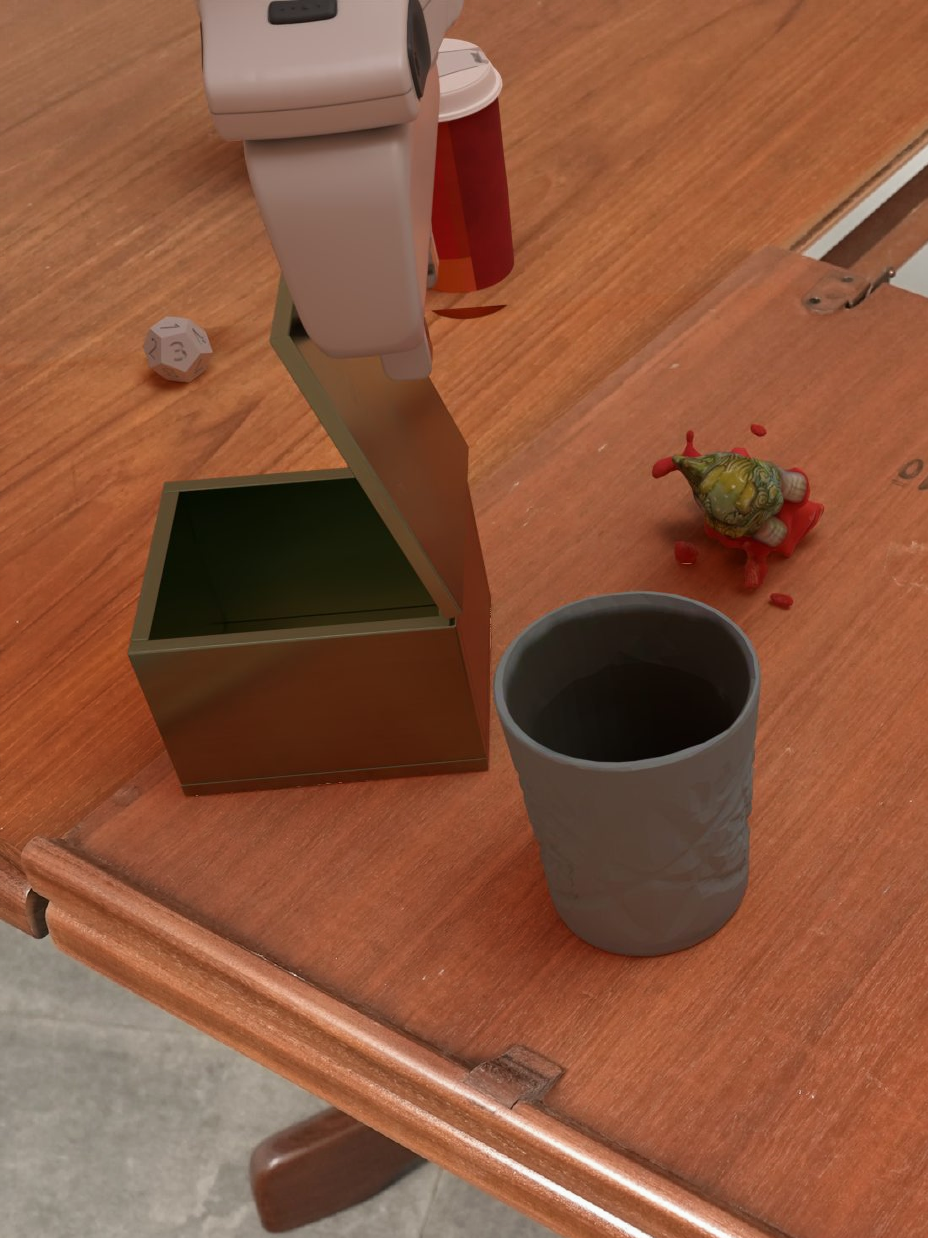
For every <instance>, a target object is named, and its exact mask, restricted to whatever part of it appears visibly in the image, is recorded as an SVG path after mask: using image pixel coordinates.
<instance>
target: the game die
mask: <svg viewBox="0 0 928 1238" xmlns="http://www.w3.org/2000/svg"><path fill="white" fill-rule="evenodd" d="M142 348H143V351H144V354H145V357H146V360H147V363H148V367H149V368H150V369H151V370H152V371H153V372H155V373H156V374H158V375H159V376H161V377H162V378H163V379H165V380H166V381H172V382H179V383H188V384H189V383H191V382H192V381H194V380H195V379H196V378H197V377H199V376H200V375H202V374H203V373H204V372H206V371H207V368H208V365H209V363H210V361H211V358H212V355H213V352H214V351H213V348H212V346H211V343H210V340H209V338H208V335H207V332H206V330H205V329H203V328H201V326H199V325H198V324H197V323H195V322H194V321H193V320H192V319H190V318H187V317H185V318H184V317H179V316H169V315H166V316H164V317H163V318H162V319H161V320H159V321H158V322H156V323H155V324H153V325H152V326H151V327H149V329H148V332H147V334H146V337H145V340H144V342H143V345H142Z"/></svg>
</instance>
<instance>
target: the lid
mask: <svg viewBox="0 0 928 1238" xmlns="http://www.w3.org/2000/svg"><path fill="white" fill-rule="evenodd" d="M272 316H273V318H272V321H271V322H272V323H271V329H270V333H269V334H270V335H269V340H268V341H269V342H268V343H269V345H270V346H271V347H272V349H273V351H274V352H275V353H276V355H277V356H278V358H279V360H280V361H281V364H282V365H283V366H284V368H285V369H286V370H287V372H288V374H289V375H290V377H291V378H292V380H293V381H294V383H295V385H296V386H297V388H298V389H299V391H300V393H301V394H302V396H303V397H304V399H305V401H306V402H307V404H308V405H309V407H310V409H311V410H312V412H313V413H314V414H315V416H316V418H317V419H318V421H319V423H320V424H321V425H322V427H323V429H324V431H325V433H326V434H327V435H328V437H329V438H330V440H331V441H332V443H333V445H334V446H335V448H336V450H337V451H338V453H339V454H340V456H341V457H342V458H343V460H344V462H345V463H346V465H347V467H349V468H350V470H351V471H352V473H353V474H354V476H355V478H356V479H357V481H358V482H359V484H360V485H361V487H362V489H363V490H364V492H365V493H366V495H367V496H368V498H369V500H370V501H371V503H372V504H373V506H374V507H375V509H376V511H377V512H378V514H379V515H380V517H381V518H382V520H383V522H384V523H385V525H386V526H387V528H388V529H389V531H390V533H391V534H392V536H393V537H394V539H395V540H396V542H397V544H398V545H399V547H400V548H401V550H402V551H403V553H404V555H405V556H406V558H407V559H408V561H409V562H410V564H411V566H412V567H413V569H414V570H415V572H416V573H417V575H418V577H419V578H420V580H421V581H422V583H423V584H424V586H425V588H426V589H427V591H428V592H429V594H430V595H431V597H432V599H433V600H434V602H435V603H436V605H437V606H438V608H439V610H440V611H441V613H442V614H443V616H444V617H445V619H450V618H453V617H457V616H460V615H462V614H463V591H464V564H465V538H466V511H467V484H468V485H469V481H468V480H469V479H468V477H469V453H470V447H469V444H468V443H467V441H466V439H465V437H464V435H463V434H462V432H461V431H460V429H459V426H458V425H457V423H456V422H455V419H454V418H453V416H452V414H451V413H450V411H449V409H448V407H447V406H446V404H445V402H444V400H443V399H442V397H441V395H440V393H439V392H438V390H437V388H436V386H435V384H434V382H433V381H432V378H430V375H429V376H428V377H427V378H425V379H419V380H409V381H400V382H396V381H393V380H390V379H389V378H388V377H387V376H386V375H385V372H384V369H383V365H382V362H381V358H380V355H378V356H368V357H357V358H345V359H334V358H330V357H328V356H326V355H325V354H324V353H322V352H321V351H320V350H319V348H318V347H317V346H316V345H315V344H314V342H313V341H312V340H311V338H310V337H309V335H308V334H307V332H306V330H305V328H304V326H303V324H302V322H301V320H300V317H299V315H298V312H297V310H296V307H295V304H294V302H293V299H292V297H291V294H290V292H289V289H288V287H287V284H286V281H285V279H284V276H283V274H282V271H281V270H280V276H279V281H278V285H277V294H276V298H275V305H274V311H273V315H272Z"/></svg>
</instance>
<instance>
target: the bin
mask: <svg viewBox="0 0 928 1238" xmlns="http://www.w3.org/2000/svg"><path fill="white" fill-rule="evenodd" d="M475 515H476V514H475V510H474V505H473V500H472V495H471V491H470V485H469V483H468V484H467V511H466V538H465V564H464V591H463V614H462V615H460V616H457V617H453V618H450V619H445V617H444V616H443V614H442V613H441V611H440V610H439V608H438V606H437V605H436V603H435V602H434V600H433V599H432V597H431V595H430V594H429V592H428V591H427V589H426V588H425V586H424V584H423V583H422V581H421V580H420V578H419V577H418V575H417V573H416V572H415V570H414V569H413V567H412V566H411V564H410V562H409V561H408V559H407V558H406V556H405V555H404V553H403V551H402V550H401V548H400V547H399V545H398V544H397V542H396V540H395V539H394V537H393V536H392V534H391V533H390V531H389V529H388V528H387V526H386V525H385V523H384V522H383V520H382V518H381V517H380V515H379V514H378V512H377V511H376V509H375V507H374V506H373V504H372V503H371V501H370V500H369V498H368V496H367V495H366V493H365V492H364V490H363V489H362V487H361V485H360V484H359V482H358V481H357V479H356V478H355V476H354V474H353V473H352V471H351V470H350V468H349V467H348V466H347V467H337V468H324V469H323V468H322V469H312V470H310V469H309V470H300V471H286V472H285V471H284V472H274V473H261V474H247V475H237V476H235V475H234V476H224V477H212V478H200V479H199V478H198V479H185V480H171V481H164V482H163V486H162V491H161V495H160V500H159V504H158V509H157V514H156V520H155V523H154V528H153V532H152V538H151V542H150V547H149V551H148V555H147V560H146V564H145V568H144V569H145V570H144V573H143V579H142V584H141V588H140V592H139V598H138V602H137V606H136V611H135V615H134V620H133V625H132V630H131V632H130V633H131V634H130V637H129V638H130V639H129V643H128V648H127V653H126V655H127V658H128V659H129V662H130V664H131V667H132V669H133V673H134V674H135V676H136V679H137V682H138V683H139V687H140V688H141V689H140V690H141V691H142V693H143V696H144V699H145V701H146V703H147V707H148V708H149V711H150V713H151V715H152V718H153V720H154V723H155V725H156V728H157V730H158V733H159V735H160V737H161V739H162V742H163V744H164V747H165V749H166V751H167V752H166V753H167V754H168V757H169V759H170V762H171V764H172V766H173V769H174V772H175V774H176V777H177V779H178V782H179V783H180V787H181V790H182V792H183V794H184V797H185V796H193V797H203V795H204V796H214V794H215V795H225V793H227V794H236V793H247V792H248V791H249V792H258V791H257V790H260V791H270V790H269V789H271V790H281V788H283V789H290V788H289V787H294V788H298V787H297V786H301V787H300V788H305V787H313V786H314V785H316V786H319V785H318V784H321V785H320V786H323V785H322V784H326V783H331V784H330V785H336V784H335V783H337V785H338V784H340V783H339V782H342V783H341V784H347V783H359V782H371V781H370V780H372V781H380V779H383V780H392V779H405V778H416V777H427V776H438V775H449V774H461V773H472V772H481V771H483V772H484V771H489V767H490V765H489V764H490V726H491V725H490V723H491V721H490V720H491V681H490V627H491V626H490V625H491V624H490V618H491V615H490V614H491V613H490V612H491V611H490V610H491V609H490V608H491V599H492V593H491V589H490V584H489V580H488V579H489V578H488V575H487V569H486V564H485V560H484V555H483V550H482V545H481V539H480V536H479V530H478V525H477V520H476V516H475ZM366 780H368V781H366ZM314 787H315V786H314ZM277 788H278V789H277ZM231 792H233V793H231ZM196 795H198V796H196Z"/></svg>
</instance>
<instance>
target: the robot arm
mask: <svg viewBox="0 0 928 1238" xmlns="http://www.w3.org/2000/svg"><path fill="white" fill-rule="evenodd" d="M193 1H194V4H195V8H196V11H197V14H198V15H197V16H198V18H199V30H200V42H201V45H200V46H201V47H200V49H201V70H202V83H203V93H204V97H205V100H206V104H207V106H208V110H209V113H210V116H211V119H212V122H213V125H214V127H215V130H216V133H217V135H218V136H219V137H220V138H221V139H222V140H223V141H225V142H226V141H227V142H237V141H238V142H239V141H243V143H242V144H243V152H244V161H245V165H246V169H247V174H248V177H249V178H248V179H249V182H250V186H251V190H252V192H253V196H254V200H255V202H256V205H257V208H258V211H259V214H260V217H261V220H262V223H263V226H264V228H265V231H266V233H267V236H268V240H269V241H270V245H271V248H272V250H273V253H274V255H275V258H276V260H277V263H278V265H279V268H280V272H281V271H282V274H283V276H284V279H285V281H286V284H287V287H288V289H289V292H290V294H291V297H292V299H293V302H294V304H295V307H296V310H297V312H298V315H299V317H300V320H301V322H302V324H303V326H304V328H305V330H306V332H307V334H308V335H309V337H310V338H311V340H312V341H313V342H314V344H315V345H316V346H317V347H318V348H319V350H320V351H321V352H322V353H324V354H325V355H326V356H328V357H330V358H334V359H345V358H357V357H368V356H378V355H380V358H381V362H382V365H383V369H384V372H385V375H386V376H387V377H388V378H389V379H390V380H393V381H396V382H400V381H409V380H419V379H425V378H427V377H428V376H429V377H430V375H431V374H432V370H433V360H434V359H433V358H434V357H433V356H434V348H433V342H432V340H431V337H430V330H429V327H428V322H427V318H426V316H425V315H426V301H427V300H426V298H427V291H428V290H433V289H432V288H433V287H434V286H435V285H436V282H437V276H438V265H439V260H438V255H437V251H436V247H435V242H434V238H433V233H432V224H431V216H432V202H433V188H434V174H435V160H436V146H437V132H438V117H439V103H440V83H439V73H438V67H437V62H436V61H437V59H438V54H439V52H438V50H439V48H440V46H441V43H442V41H443V38H445V36H446V35H445V34H446V33H447V32H448V31H450V30H451V28H452V27H453V26H454V25H455V24H456V22H457V21H458V19H459V18H460V16H461V14H462V11H463V9H464V5H465V0H193Z"/></svg>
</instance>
